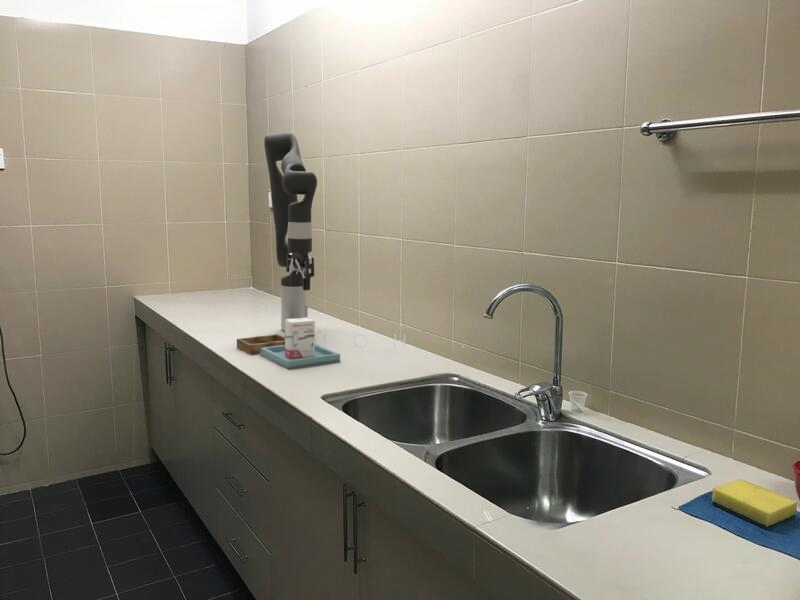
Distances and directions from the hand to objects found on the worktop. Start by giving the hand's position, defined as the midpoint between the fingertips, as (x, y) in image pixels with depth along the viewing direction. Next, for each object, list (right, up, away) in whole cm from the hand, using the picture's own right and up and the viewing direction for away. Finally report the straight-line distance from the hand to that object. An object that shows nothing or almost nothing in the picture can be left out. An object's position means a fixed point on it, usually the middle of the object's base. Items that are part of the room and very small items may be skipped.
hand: (299, 288), depth 207 cm
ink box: (-1, -22, +4) cm, 22 cm away
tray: (-1, -22, +4) cm, 23 cm away
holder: (-14, -20, +16) cm, 29 cm away
